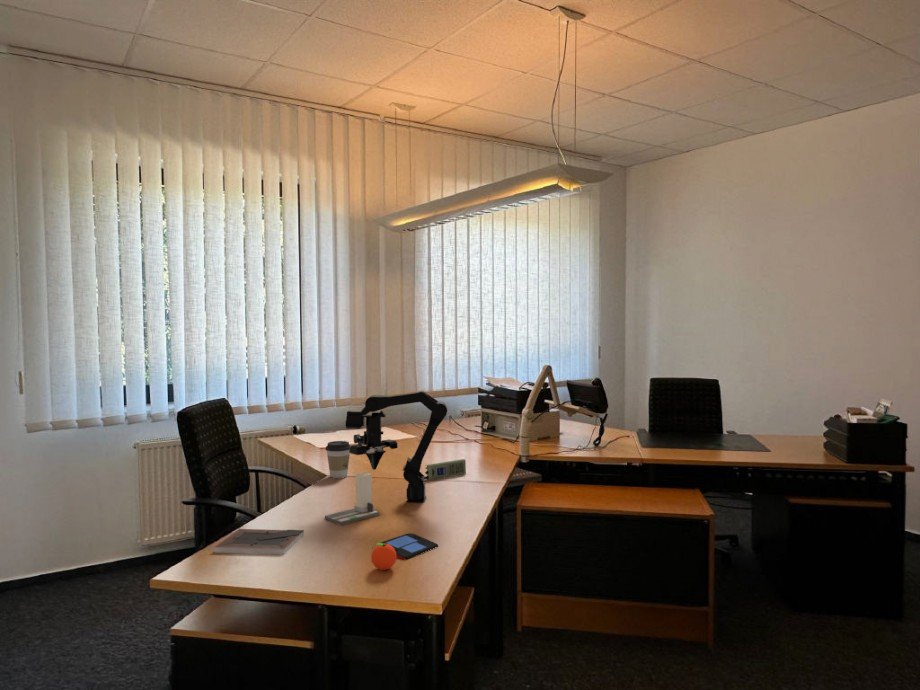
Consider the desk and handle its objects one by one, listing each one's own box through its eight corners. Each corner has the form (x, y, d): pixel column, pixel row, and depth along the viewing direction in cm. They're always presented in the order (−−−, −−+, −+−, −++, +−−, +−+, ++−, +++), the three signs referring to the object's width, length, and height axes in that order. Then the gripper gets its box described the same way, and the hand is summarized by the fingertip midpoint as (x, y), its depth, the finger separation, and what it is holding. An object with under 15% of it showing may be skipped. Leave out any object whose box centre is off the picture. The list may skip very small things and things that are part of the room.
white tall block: (366, 506, 225) (365, 472, 224) (378, 511, 219) (377, 475, 219) (354, 509, 221) (353, 474, 221) (366, 514, 216) (365, 478, 215)
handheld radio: (467, 474, 278) (418, 483, 264) (462, 473, 281) (414, 481, 266) (466, 459, 278) (418, 467, 264) (462, 458, 281) (414, 466, 266)
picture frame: (304, 537, 199) (239, 535, 202) (303, 529, 199) (239, 528, 201) (284, 556, 183) (214, 554, 185) (284, 548, 183) (214, 546, 185)
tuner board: (363, 508, 227) (363, 505, 227) (379, 514, 220) (379, 511, 220) (324, 518, 216) (324, 515, 216) (340, 525, 209) (340, 521, 209)
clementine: (363, 569, 171) (362, 544, 171) (379, 561, 177) (379, 536, 177) (385, 576, 167) (385, 549, 166) (401, 567, 172) (401, 542, 172)
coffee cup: (346, 480, 268) (345, 445, 268) (321, 479, 271) (320, 444, 270) (355, 473, 279) (355, 440, 279) (331, 472, 282) (331, 440, 281)
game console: (404, 562, 178) (404, 554, 178) (375, 551, 186) (375, 543, 186) (439, 548, 188) (439, 540, 188) (410, 538, 197) (410, 531, 197)
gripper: (381, 423, 249) (381, 462, 249) (341, 429, 236) (341, 470, 236) (398, 426, 240) (398, 466, 241) (357, 432, 228) (358, 475, 228)
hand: (374, 469), depth 237 cm, fingers closed
